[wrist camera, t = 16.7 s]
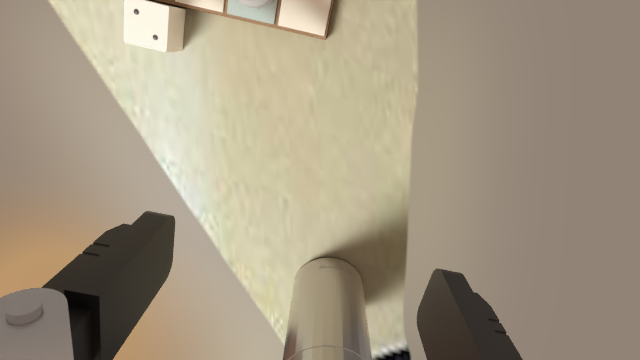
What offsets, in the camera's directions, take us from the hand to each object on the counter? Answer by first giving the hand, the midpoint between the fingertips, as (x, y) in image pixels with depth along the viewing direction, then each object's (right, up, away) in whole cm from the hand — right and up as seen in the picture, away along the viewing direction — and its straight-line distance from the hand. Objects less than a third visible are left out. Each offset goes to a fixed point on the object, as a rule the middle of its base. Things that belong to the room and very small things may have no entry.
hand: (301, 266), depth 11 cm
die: (-15, +18, +25) cm, 35 cm away
